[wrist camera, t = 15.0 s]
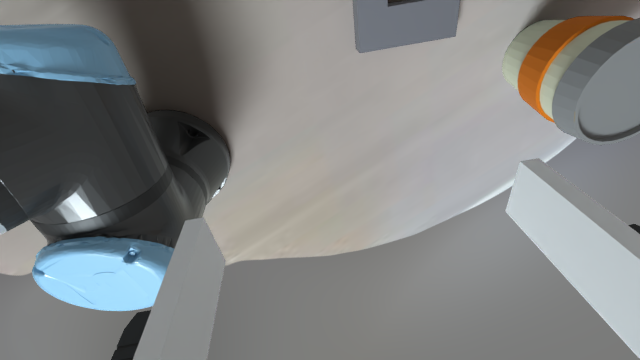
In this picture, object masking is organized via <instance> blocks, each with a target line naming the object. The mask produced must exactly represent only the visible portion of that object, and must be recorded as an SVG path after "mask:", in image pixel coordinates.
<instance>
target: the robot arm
mask: <svg viewBox="0 0 640 360" xmlns="http://www.w3.org/2000/svg"><path fill="white" fill-rule="evenodd" d="M135 84H136V82H135V80H134V78H132V77H131V76H130V75H129V73H128V71H127V69H126V67H125V65H124V63H123V61H122V59H121V57H120V55H119V53H118V51H117V49H116V47H115V45H114V43H113V42H112V41H111V39H110V38H109V37H108V36H107V35H105V34H104V33H103V32H101V31H99V30H98V29H96V28H93V27H90V26H86V25H77V24H37V25H0V234H3V233H5V232H7V231H9V230H11V229H13V228H15V227H16V226H18V225H20V224H22V223H24V222H26V221H28V220H30V221H31V222H32V223H33V224H34V225H35V227H36V228H37V229H38V230H39V231H40V232H41V233H42V235H43V236H44V237H45V238H46V240H47V243H48V244H47V246H45V247H43V248H42V249H41V250H40V251H39V252H38V253H37V255H36V261H35V265H34V267H33V270H32V273H33V277H34V279H35V281H36V282H37V284H38V285H39V286H40V287H41V288H42V289H43V290H45V291H46V292H47V293H49V294H50V295H52V296H54V297H56V298H58V299H60V300H62V301H65V302H68V303H70V304H74V305H77V306H81V307H85V308H92V309H97V310H106V311H107V310H108V311H128V310H137V309H142V308H146V307H150V306H153V307H152V310H150V311H144V312H138V313H137V314H136V315H135V316H134V317H133V319H132V320H131V321H130V323H129V324H128V325H127V327H126V328H125V329H124V331H123V334H122V336H121V338H120V340H119V343H118V345H117V350H115V352H114V354H113V356H112V359H111V360H207V356H208V351H209V345H210V340H211V335H212V330H213V325H214V319H215V314H216V309H217V304H218V298H219V293H220V288H221V283H222V277H223V272H224V267H225V262H226V260H225V258H224V256H223V254H222V252H221V250H220V248H219V247H218V245H217V243H216V241H215V239H214V237H213V235H212V233H211V231H210V229H209V227H208V225H207V223H206V221H205V219H204V217H203V218H202V216H203V213H204V210H205V206H206V205H207V204H208V203H209V202H210V200H211V199H212V198H213V197H214V196H215V195H216V194H217V193H218V192H219V191H220V190H221V189H222V188H223V186H224V184H225V182H226V180H227V177H228V173H229V169H230V155H229V151H228V148H227V146H226V144H225V142H224V141H223V139H222V138H221V136H220V135H219V134H218V133H217V132H216V131H215V130H214V129H213V128H212V127H211V126H210V125H208V124H207V123H205V122H204V121H202V120H200V119H199V118H197V117H194V116H192V115H189V114H186V113H183V112H178V111H171V110H161V111H154V112H150V113H147V112H146V110H145V107H144V105H143V103H142V100H141V98H140V96H139V94H138V91H137V89H136V87H135ZM506 212H507V213H508V215H509V216H510V217H511V218H512V219H513V220H514V221H515V222H516V224H517V225H518V226H519V227H520V228H521V229H522V230H523V231H524V232H525V233H526V235H527V236H528V237H529V238H530V239H531V240H532V241H533V242H534V243H535V244H536V246H537V247H538V248H539V249H540V250H541V251H542V252H543V253H544V254H545V255H546V256H547V258H548V259H549V260H550V261H551V262H552V263H553V264H554V265H555V266H556V268H557V269H558V270H559V271H560V272H561V273H562V274H563V275H564V276H565V277H566V278H567V279H568V281H569V282H570V283H571V284H572V285H573V286H574V287H575V288H576V289H577V291H578V292H579V293H580V294H581V295H582V296H583V297H584V298H585V299H586V300H587V302H588V303H589V304H590V305H591V306H592V307H593V308H594V309H595V310H596V311H597V312H598V314H599V315H600V316H601V317H602V318H603V319H604V320H605V321H606V322H607V324H608V325H609V326H610V327H611V328H612V329H613V330H614V331H615V332H616V333H617V335H619V337H620V338H621V339H622V340H623V341H624V342H625V343H626V344H627V345H628V347H629V348H630V349H631V350H632V351H633V352H634V353H635V354H636V355H637V356H638V357H639V359H640V226H638V225H636V224H632V225H627V224H625V223H624V222H623V221H621V220H620V219H619V218H618V217H616V216H615V215H613V214H612V213H611V212H610V211H608V210H607V209H606V208H604V207H603V206H601V205H600V204H599V203H598V202H596V201H595V200H594V199H592V198H591V197H589V196H588V195H587V194H586V193H584V192H583V191H581V190H580V189H579V188H577V187H576V186H575V185H574V184H572V183H571V182H570V181H568V180H567V179H566V178H564V177H563V176H562V175H560V174H559V173H558V172H556V171H555V170H554V169H552V168H551V167H550V166H548V165H547V164H546V163H544V162H543V161H542V160H540V159H539V158H538V159H532V160H526V161H521V162H520V164H519V167H518V171H517V174H516V177H515V181H514V184H513V187H512V191H511V194H510V198H509V201H508V204H507V208H506Z"/></svg>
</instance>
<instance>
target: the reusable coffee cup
mask: <svg viewBox="0 0 640 360" xmlns="http://www.w3.org/2000/svg"><path fill="white" fill-rule="evenodd" d="M502 71H503V75H504V78H505V79H506V81H507V82H508V83H509V84H511V85H512V86H513V87H514V88H515V89H517V90H518V91H519V94H520V96H521V97H522V99H523V100H524V101H525V102H527V103H528V104H529V105H530V106H531V107H532V108H534V109H535V110H536V111H537V112H538V113H540V114H541V115H542V116H543V117H544V118H546V119H547V120H549V121H552V122H554V123H555V124H556V125H557V127H558V128H559V129H560V130H561V131H563V132H564V133H567V134H569V135H571V136H574V137H576V138H579V139H581V140H583V141H586V142H589V143H591V144H598V145H605V144H613V143H617V142H621V141H623V140H626V139H629V138H632V137H634V136H636V135H638V134H640V18H638V19H633V18H631V17H626V16H578V17H574V18H570V19H567V20H542V21H539V22H536V23H534V24H532V25H530V26H528V27H527V28H525V29H524V30H523V31H522V32H520V33H519V34H518V35H517V36H516V37H515V39H514V40H513V41H512V42H511V44H510V45H509V47H508V49H507V51H506V53H505V56H504V59H503V64H502Z"/></svg>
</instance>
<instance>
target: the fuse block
mask: <svg viewBox="0 0 640 360" xmlns="http://www.w3.org/2000/svg"><path fill="white" fill-rule="evenodd" d="M459 4H460V0H405V1H400V2H394V3H388V0H353V12H354V27H355V42H356V49H357V50H358V52H359V53H364V52H370V51H375V50H381V49H387V48H392V47H398V46H404V45H410V44H415V43H421V42H427V41H432V40H438V39H444V38H450V37H455V36H456V30H457V21H458V12H459Z"/></svg>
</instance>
